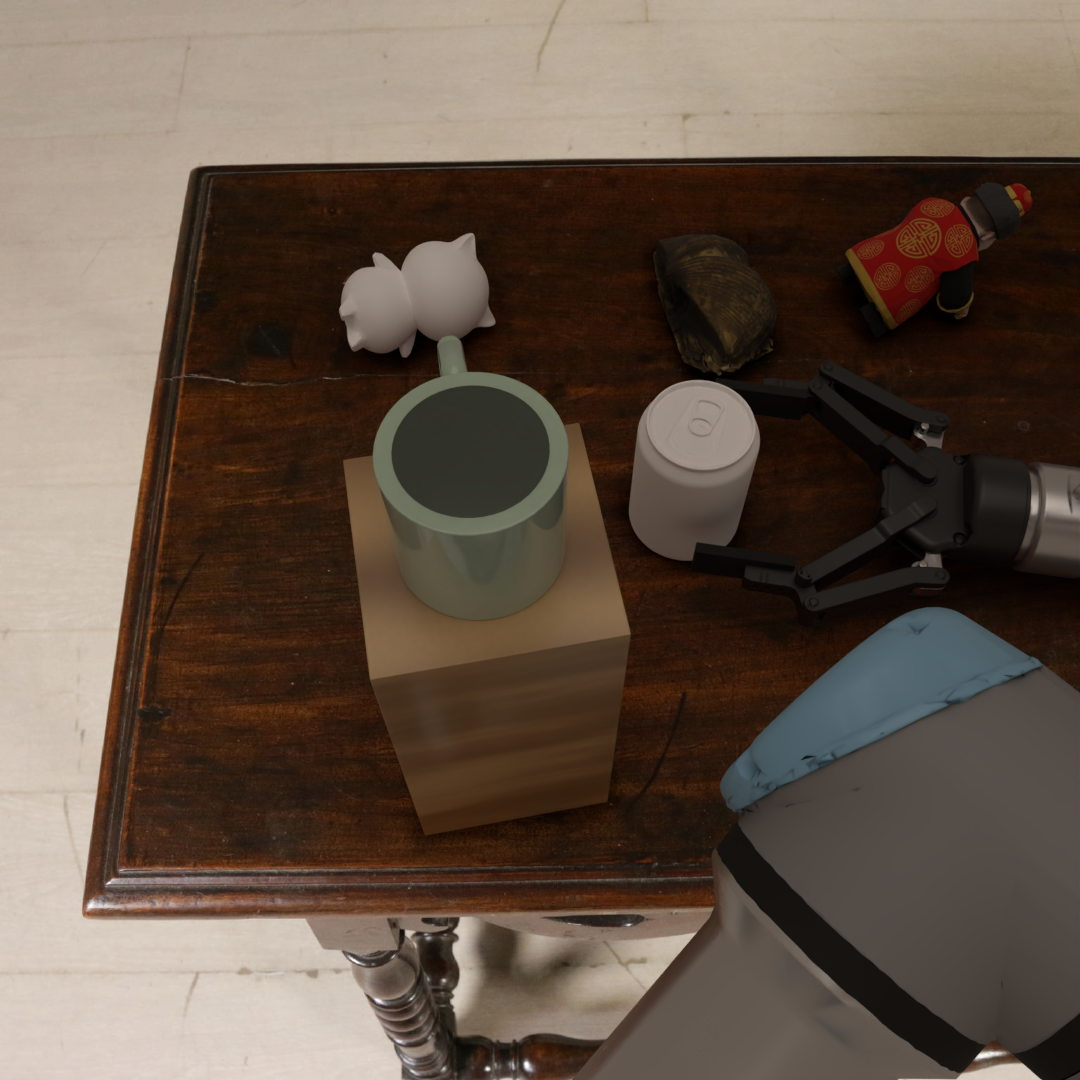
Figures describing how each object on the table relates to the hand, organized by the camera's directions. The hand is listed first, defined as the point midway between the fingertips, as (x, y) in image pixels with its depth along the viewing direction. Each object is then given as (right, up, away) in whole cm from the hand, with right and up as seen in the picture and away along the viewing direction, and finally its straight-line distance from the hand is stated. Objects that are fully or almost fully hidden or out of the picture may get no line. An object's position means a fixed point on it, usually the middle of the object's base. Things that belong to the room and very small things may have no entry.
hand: (703, 471), depth 81 cm
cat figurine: (-21, +13, +15) cm, 29 cm away
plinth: (-14, -18, -2) cm, 23 cm away
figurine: (+20, +15, +16) cm, 30 cm away
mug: (-14, -3, -24) cm, 29 cm away
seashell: (+3, +13, +15) cm, 20 cm away
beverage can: (-1, -3, +6) cm, 7 cm away
